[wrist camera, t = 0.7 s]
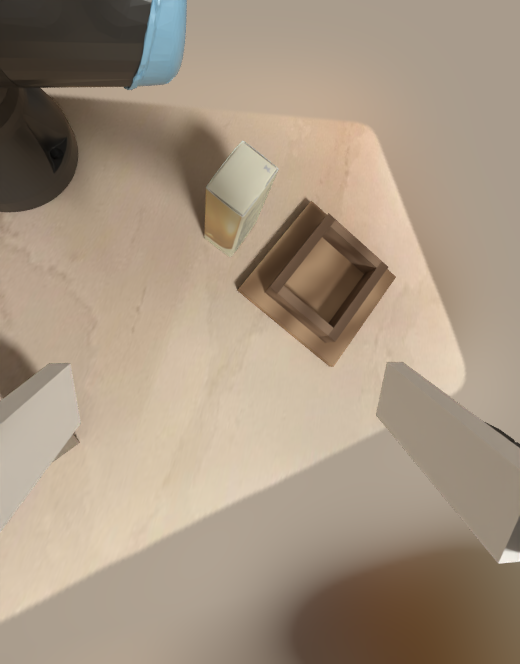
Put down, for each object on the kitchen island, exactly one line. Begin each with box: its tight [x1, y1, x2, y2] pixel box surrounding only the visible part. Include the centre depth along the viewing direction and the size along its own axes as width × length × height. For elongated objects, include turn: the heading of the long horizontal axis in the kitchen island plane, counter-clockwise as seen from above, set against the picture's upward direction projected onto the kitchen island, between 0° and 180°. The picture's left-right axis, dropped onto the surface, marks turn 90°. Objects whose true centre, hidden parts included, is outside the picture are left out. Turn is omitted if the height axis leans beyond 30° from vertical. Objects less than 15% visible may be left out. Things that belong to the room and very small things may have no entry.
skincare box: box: [204, 141, 278, 257], centre depth 33 cm, size 6×4×12 cm
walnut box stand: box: [238, 201, 396, 367], centre depth 39 cm, size 16×16×4 cm
